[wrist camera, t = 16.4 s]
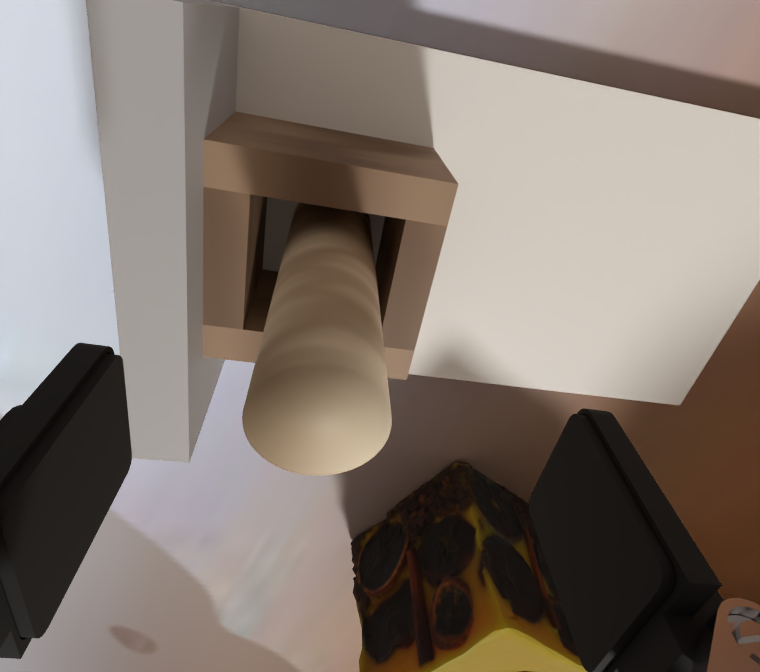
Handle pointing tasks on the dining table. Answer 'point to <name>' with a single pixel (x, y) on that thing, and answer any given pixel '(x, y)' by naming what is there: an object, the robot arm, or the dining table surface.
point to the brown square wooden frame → (324, 188)
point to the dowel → (321, 351)
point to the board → (468, 216)
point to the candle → (459, 585)
